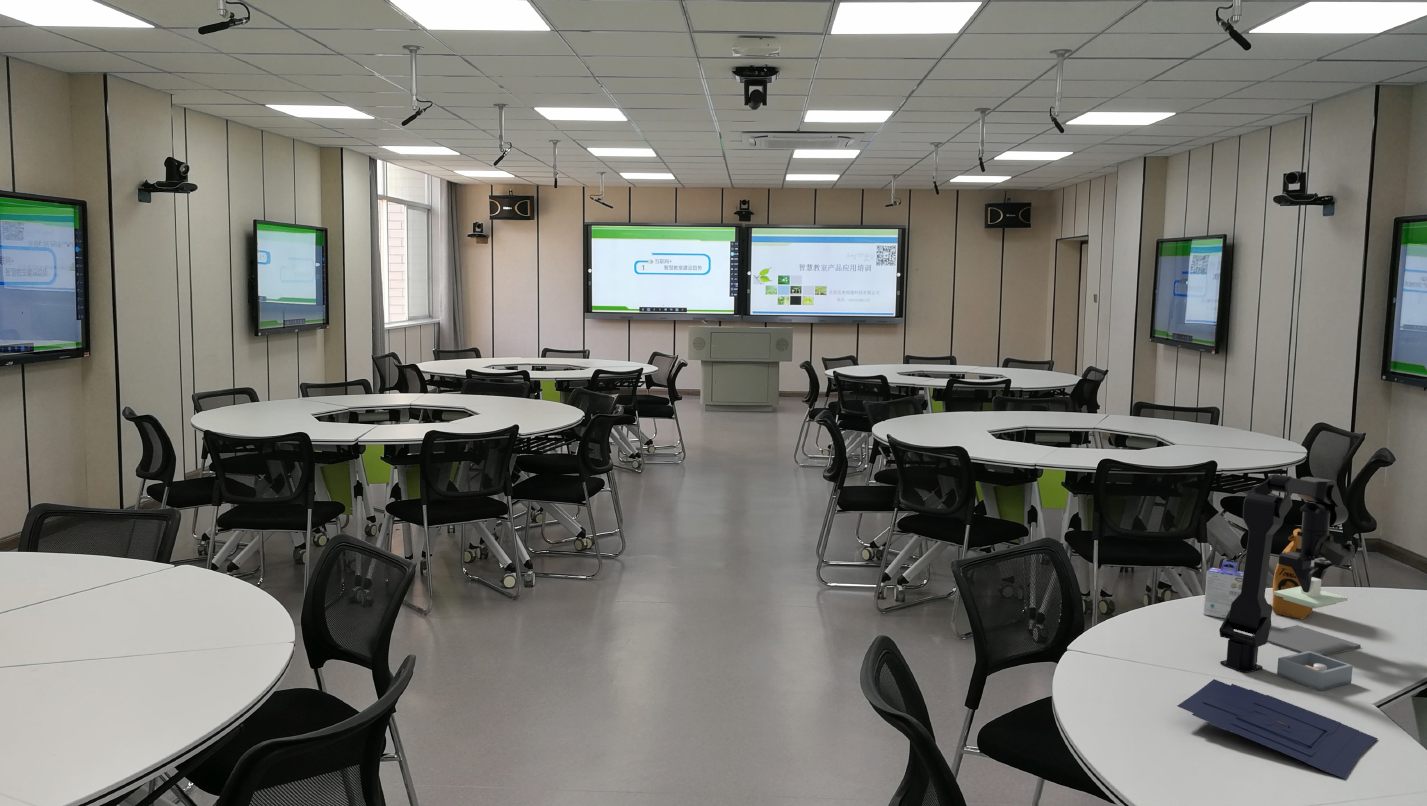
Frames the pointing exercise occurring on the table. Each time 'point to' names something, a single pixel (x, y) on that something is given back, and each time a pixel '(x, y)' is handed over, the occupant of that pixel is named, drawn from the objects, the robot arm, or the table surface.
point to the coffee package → (1288, 585)
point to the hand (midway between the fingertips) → (1310, 591)
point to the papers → (1280, 726)
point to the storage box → (1314, 670)
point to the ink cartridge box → (1222, 589)
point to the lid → (1310, 595)
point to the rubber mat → (1308, 641)
